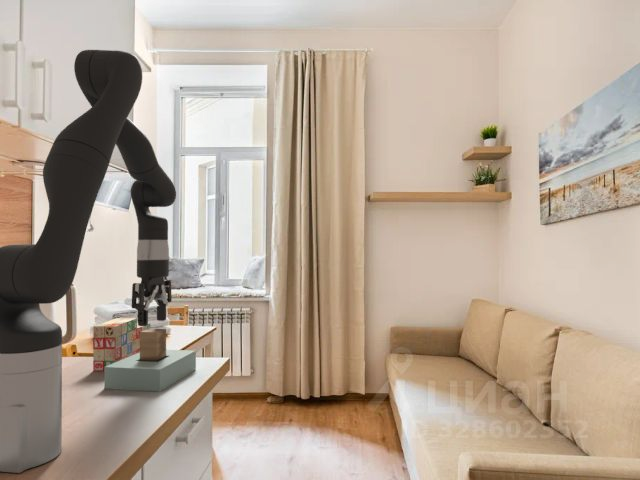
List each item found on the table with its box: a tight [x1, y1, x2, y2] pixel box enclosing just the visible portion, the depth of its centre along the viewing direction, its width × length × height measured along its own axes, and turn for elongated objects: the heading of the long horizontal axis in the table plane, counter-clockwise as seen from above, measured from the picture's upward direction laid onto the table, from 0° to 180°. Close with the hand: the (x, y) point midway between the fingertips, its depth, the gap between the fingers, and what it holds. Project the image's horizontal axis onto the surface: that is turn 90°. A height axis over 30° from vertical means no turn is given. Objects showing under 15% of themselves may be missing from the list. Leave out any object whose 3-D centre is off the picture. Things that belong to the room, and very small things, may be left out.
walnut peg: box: [139, 328, 167, 362], centre depth 109 cm, size 5×5×12 cm
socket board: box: [103, 349, 197, 392], centre depth 109 cm, size 18×14×5 cm
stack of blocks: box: [92, 317, 151, 372], centre depth 126 cm, size 21×6×12 cm, turn 177°
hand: (152, 323), depth 109 cm, fingers open, 8 cm apart
